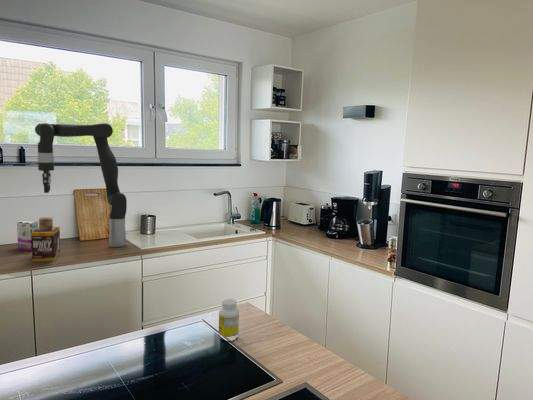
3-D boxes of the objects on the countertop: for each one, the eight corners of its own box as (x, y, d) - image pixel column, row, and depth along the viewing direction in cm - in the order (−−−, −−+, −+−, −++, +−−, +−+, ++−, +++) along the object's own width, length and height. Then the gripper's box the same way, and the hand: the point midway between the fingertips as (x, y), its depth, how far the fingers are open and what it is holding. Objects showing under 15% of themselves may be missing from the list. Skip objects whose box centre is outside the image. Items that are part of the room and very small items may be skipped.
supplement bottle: (219, 333, 137) (220, 297, 135) (238, 333, 137) (239, 297, 135) (217, 342, 130) (218, 305, 128) (238, 343, 130) (239, 305, 129)
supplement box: (31, 261, 206) (30, 232, 204) (40, 254, 221) (39, 226, 219) (54, 261, 209) (53, 232, 207) (60, 253, 224) (59, 226, 222)
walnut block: (52, 227, 217) (52, 217, 217) (52, 230, 212) (51, 219, 211) (40, 228, 215) (39, 217, 214) (39, 230, 209) (38, 219, 209)
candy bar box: (39, 249, 229) (38, 221, 227) (31, 251, 224) (30, 223, 222) (25, 247, 233) (24, 219, 231) (17, 249, 228) (16, 221, 226)
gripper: (53, 162, 205) (54, 193, 207) (54, 160, 218) (56, 190, 220) (36, 162, 202) (37, 193, 204) (39, 160, 215) (40, 190, 217)
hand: (47, 191), depth 212 cm, fingers open, 8 cm apart
